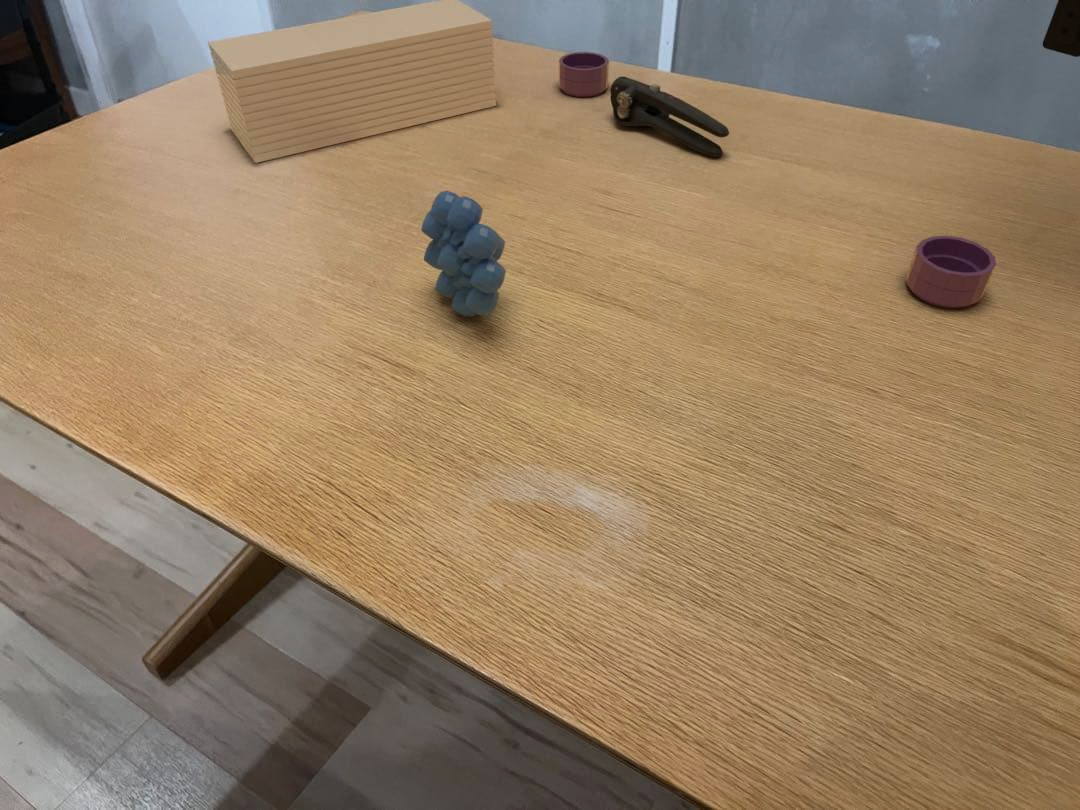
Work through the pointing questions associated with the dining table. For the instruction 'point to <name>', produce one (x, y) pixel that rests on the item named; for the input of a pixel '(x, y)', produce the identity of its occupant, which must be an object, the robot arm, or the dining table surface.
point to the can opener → (664, 114)
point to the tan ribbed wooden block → (354, 76)
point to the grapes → (464, 254)
